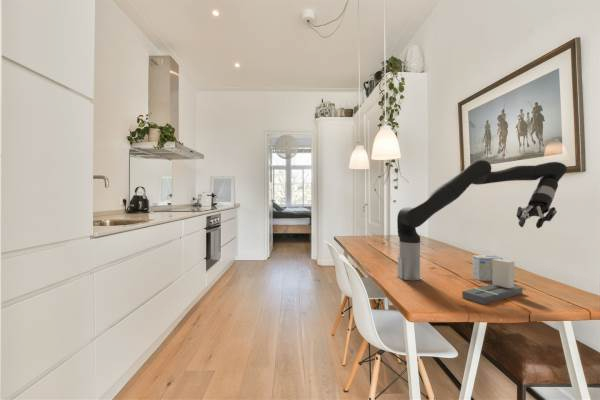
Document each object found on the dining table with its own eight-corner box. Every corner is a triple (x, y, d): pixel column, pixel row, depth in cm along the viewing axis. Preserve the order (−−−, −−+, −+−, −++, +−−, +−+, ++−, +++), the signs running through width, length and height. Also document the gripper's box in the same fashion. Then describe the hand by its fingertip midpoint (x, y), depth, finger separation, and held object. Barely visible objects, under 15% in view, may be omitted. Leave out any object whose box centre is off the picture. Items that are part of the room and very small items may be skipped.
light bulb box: (495, 277, 141) (495, 255, 141) (503, 281, 135) (503, 258, 135) (471, 277, 142) (471, 254, 142) (478, 281, 136) (478, 257, 136)
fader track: (485, 305, 105) (485, 297, 105) (460, 297, 113) (460, 290, 113) (524, 294, 117) (524, 287, 117) (499, 287, 125) (499, 281, 125)
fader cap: (508, 288, 115) (508, 262, 114) (492, 284, 120) (492, 259, 120) (514, 286, 116) (514, 261, 116) (497, 282, 122) (498, 258, 122)
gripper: (565, 204, 127) (552, 233, 121) (526, 203, 140) (513, 230, 134) (559, 191, 124) (546, 221, 119) (520, 192, 137) (507, 219, 131)
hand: (529, 226), depth 126 cm, fingers open, 5 cm apart
